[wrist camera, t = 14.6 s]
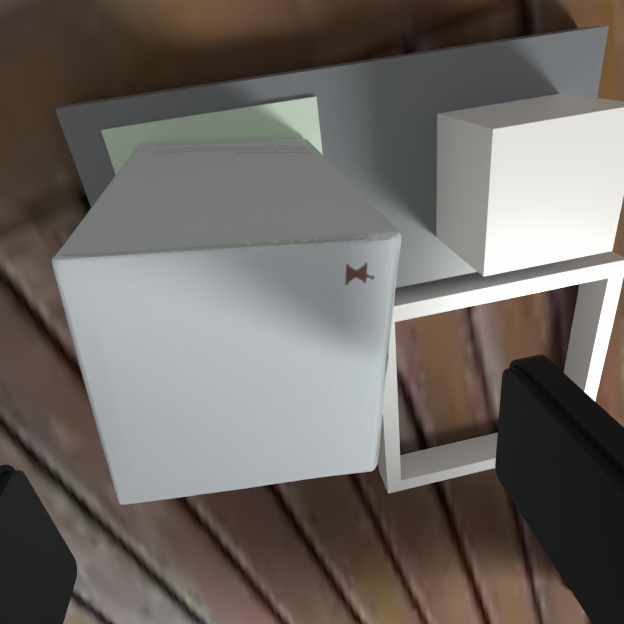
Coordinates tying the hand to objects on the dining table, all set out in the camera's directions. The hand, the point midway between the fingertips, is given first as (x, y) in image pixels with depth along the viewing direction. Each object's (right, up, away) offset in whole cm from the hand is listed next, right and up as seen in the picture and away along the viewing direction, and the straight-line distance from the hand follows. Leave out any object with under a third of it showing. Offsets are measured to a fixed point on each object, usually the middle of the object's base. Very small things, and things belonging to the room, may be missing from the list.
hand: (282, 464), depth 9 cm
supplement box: (-3, +7, +13) cm, 15 cm away
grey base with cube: (+2, +10, +15) cm, 18 cm away
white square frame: (+12, -1, +23) cm, 26 cm away
